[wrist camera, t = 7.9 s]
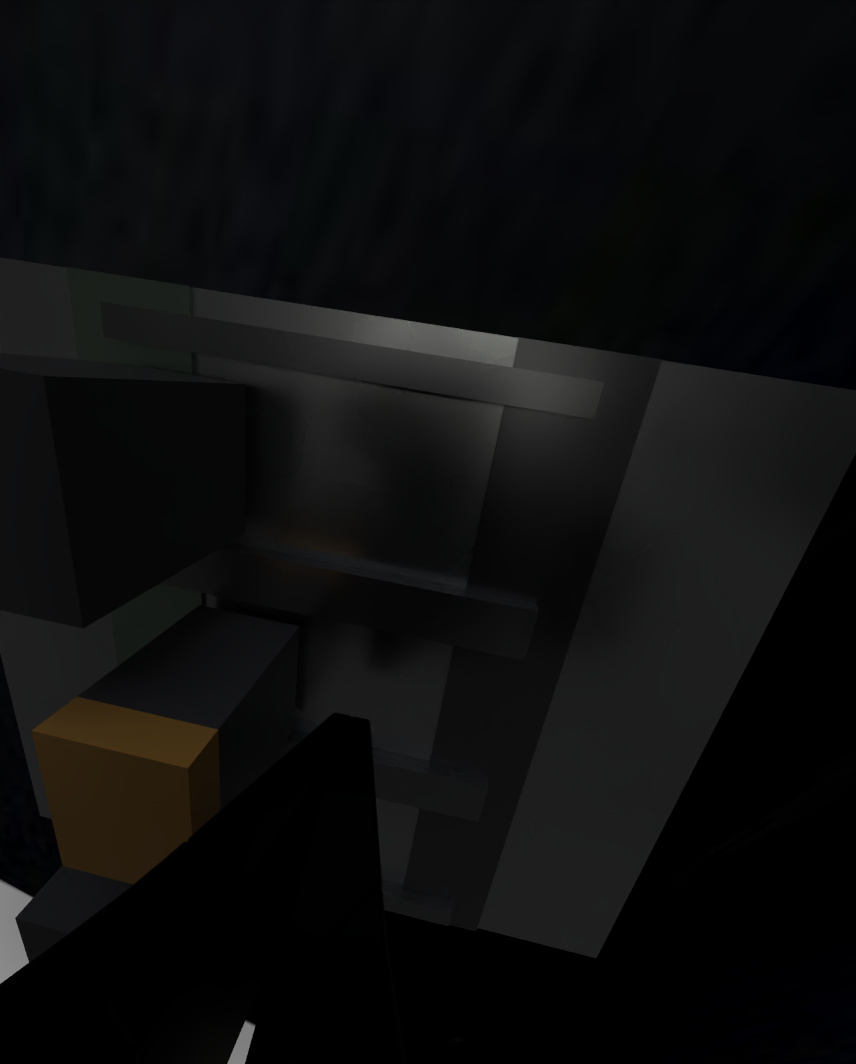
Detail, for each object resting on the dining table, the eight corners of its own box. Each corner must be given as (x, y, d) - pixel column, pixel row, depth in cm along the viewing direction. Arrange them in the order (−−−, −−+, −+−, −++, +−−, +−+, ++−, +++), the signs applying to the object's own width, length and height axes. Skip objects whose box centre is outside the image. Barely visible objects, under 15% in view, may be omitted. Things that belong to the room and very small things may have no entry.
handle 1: (245, 384, 8) (42, 375, 4) (245, 533, 9) (83, 628, 5) (125, 363, 8) (-168, 339, 4) (139, 512, 9) (-89, 591, 5)
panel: (835, 395, 8) (909, 395, 6) (587, 916, 13) (600, 976, 12) (-38, 258, 9) (-131, 234, 7) (69, 787, 14) (27, 828, 13)
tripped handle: (299, 626, 9) (187, 768, 6) (294, 727, 10) (196, 900, 7) (199, 605, 9) (31, 730, 6) (204, 706, 10) (62, 866, 7)
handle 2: (244, 773, 11) (134, 950, 7) (244, 847, 12) (147, 1033, 8) (161, 754, 11) (15, 918, 8) (168, 828, 12) (41, 1003, 9)
